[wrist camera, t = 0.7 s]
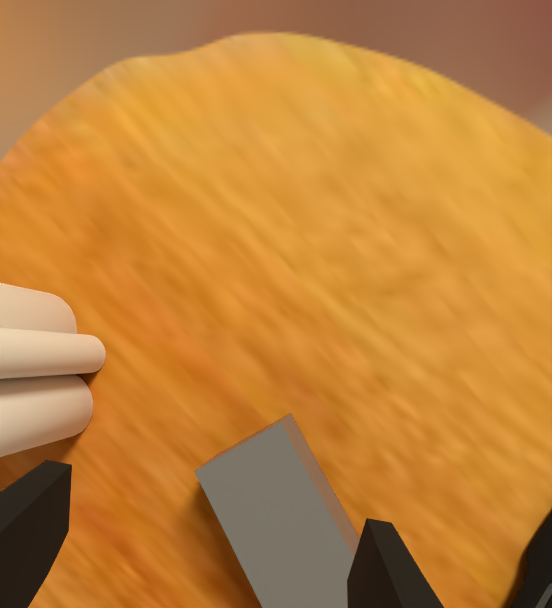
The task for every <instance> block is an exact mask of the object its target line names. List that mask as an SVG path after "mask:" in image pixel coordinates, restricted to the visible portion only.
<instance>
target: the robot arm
mask: <svg viewBox="0 0 552 608" xmlns="http://www.w3.org/2000/svg"><path fill="white" fill-rule="evenodd" d="M71 471H72V465H70V464H65V463H59V462H54V461H48V460H46V461H45V462H43V463H41V464H40V465H39V466H37V467H36V468H34V469H33V470H31V471H30V472H28V473H27V474H26V475H24V476H23V477H21V478H20V479H18V480H17V481H16V482H14V483H13V484H11V485H10V486H9V487H7V488H6V489H4V490H3V491H1V492H0V608H28V606H29V605H30V603H31V601H32V600H33V598H34V597H35V595H36V593H37V592H38V590H39V588H40V587H41V585H42V583H43V582H44V580H45V578H46V577H47V575H48V573H49V571H50V569H51V567H52V565H53V563H54V561H55V559H56V557H57V555H58V552H59V550H60V548H61V546H62V544H63V542H64V540H65V537H66V535H67V533H68V531H69V511H70V491H71ZM347 601H348V608H444V607H443V605H442V604H441V602H440V601H439V599H438V597H437V596H436V594H435V593H434V591H433V590H432V588H431V587H430V585H429V584H428V582H427V580H426V579H425V577H424V576H423V574H422V572H421V571H420V569H419V567H418V566H417V564H416V562H415V561H414V559H413V557H412V556H411V554H410V552H409V551H408V549H407V547H406V546H405V544H404V542H403V541H402V539H401V537H400V536H399V534H398V532H397V531H396V529H395V527H394V526H393V524H392V523H390V522H385V521H379V520H374V519H368V518H367V519H366V522H365V525H364V529H363V532H362V535H361V538H360V541H359V544H358V547H357V551H356V554H355V557H354V560H353V563H352V566H351V569H350V573H349V576H348V579H347Z"/></svg>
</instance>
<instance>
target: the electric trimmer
mask: <svg viewBox="0 0 552 608" xmlns="http://www.w3.org/2000/svg"><path fill="white" fill-rule="evenodd" d="M510 608H552V514H551V516H550V517H549V518H548V520H547V521H546V523H545V524H544V525H543V527H542V528H541V530H540V531H539V533H538V534H537V536H536V537H535V539H534V540H533V542H532V543H531V545H530V546H529V548H528V550H527V571H526V576H525V579H524V583H523V585H522V587H521V589H520V590H519V592H518V594H517V596H516V598H515V600H514V602H513V604H512V606H511V607H510Z"/></svg>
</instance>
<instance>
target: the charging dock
mask: <svg viewBox="0 0 552 608" xmlns="http://www.w3.org/2000/svg"><path fill="white" fill-rule="evenodd" d="M194 472H195V474H196V476H197V478H198V480H199V482H200V484H201V486H202V488H203V490H204V492H205V494H206V496H207V498H208V500H209V502H210V504H211V506H212V508H213V510H214V512H215V514H216V516H217V518H218V520H219V522H220V524H221V526H222V528H223V530H224V532H225V534H226V536H227V538H228V540H229V542H230V544H231V546H232V548H233V550H234V552H235V554H236V556H237V558H238V560H239V562H240V564H241V566H242V568H243V570H244V572H245V574H246V576H247V578H248V580H249V582H250V584H251V586H252V588H253V590H254V592H255V594H256V596H257V598H258V600H259V602H260V604H261V606H262V608H348V601H347V579H348V576H349V573H350V569H351V566H352V563H353V560H354V557H355V554H356V551H357V547H358V544H359V541H360V538H359V537H358V535H357V533H356V531H355V529H354V527H353V526H352V524H351V522H350V520H349V518H348V517H347V515H346V513H345V511H344V509H343V508H342V506H341V504H340V502H339V500H338V498H337V497H336V495H335V493H334V491H333V489H332V488H331V486H330V484H329V482H328V480H327V478H326V477H325V475H324V473H323V471H322V469H321V468H320V466H319V464H318V462H317V460H316V459H315V457H314V455H313V453H312V451H311V449H310V448H309V446H308V444H307V442H306V440H305V439H304V437H303V435H302V433H301V431H300V430H299V428H298V426H297V424H296V422H295V420H294V419H293V417H292V415H291V413H290V414H289V415H287V416H285V417H283V418H281V419H280V420H278V421H276V422H274V423H273V424H271V425H269V426H267V427H266V428H264V429H262V430H260V431H259V432H257V433H255V434H253V435H251V436H250V437H248V438H246V439H244V440H243V441H241V442H239V443H237V444H236V445H234V446H232V447H230V448H229V449H227V450H225V451H223V452H221V453H220V454H218V455H216V456H215V457H213V458H212V459H211V460H209V461H208V462H207V463H205V464H204V465H202V466H201V467H200V468H198V469H197V470H196V471H194Z"/></svg>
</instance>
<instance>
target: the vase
mask: <svg viewBox="0 0 552 608" xmlns="http://www.w3.org/2000/svg"><path fill="white" fill-rule="evenodd" d="M105 358H106V352H105V348H104V346H103V344H102V342H101V341H100V340H99V339H98V338H96V337H94V336H92V335H84V334H77V327H76V319H75V317H74V314H73V312H72V310H71V308H70V307H69V306H68V304H67V303H66V302H65V301H64V300H63V299H62V298H60V297H57V296H55V295H53V294H51V293H47V292H42V291H37V290H32V289H27V288H22V287H18V286H13V285H8V284H3V283H0V457H3V456H6V455H10V454H13V453H17V452H20V451H24V450H27V449H31V448H34V447H37V446H41V445H44V444H48V443H51V442H55V441H58V440H62V439H65V438H69V437H72V436H75V435H77V434H79V433H81V432H82V431H83V430H84V429H85V428H86V427H87V426H88V424H89V422H90V420H91V417H92V414H93V400H92V395H91V392H90V390H89V388H88V386H87V384H86V383H85V382H84V381H83V380H82V379H81V378H80V377H79V376H77V375H76V374H81V373H93V372H96V371H98V370H100V369H101V367H102V366H103V365H104V362H105Z"/></svg>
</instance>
